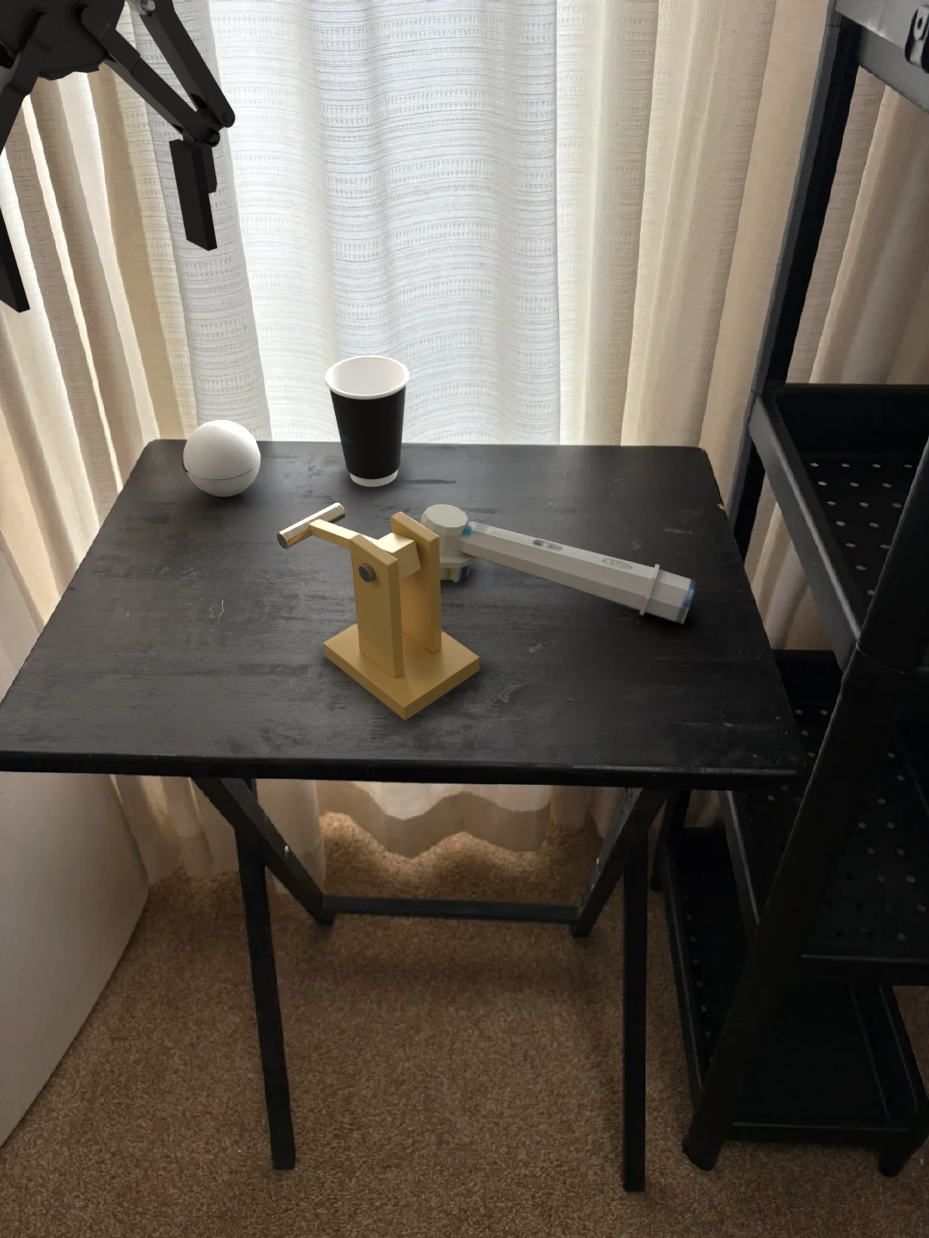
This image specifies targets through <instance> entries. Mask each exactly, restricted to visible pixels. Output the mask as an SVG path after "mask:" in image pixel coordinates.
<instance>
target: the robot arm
mask: <svg viewBox="0 0 929 1238" xmlns="http://www.w3.org/2000/svg"><path fill="white" fill-rule="evenodd" d="M126 3H127V5H128V7H129V9H130V10H131V11H132V12H134V13H136V14H138V16H139V18H140V20H141V22H142V23H143V26H144V27H145V29H146V30H147V32H148V34H149V35H150V37H151V39H152V40H153V41H154V43H155V45H156V47H157V48H158V50H159V51H160V53H161V55H162V56H163V58H164V60H165V61H166V63H167V65H168V66H169V68H170V69H171V70H172V72H173V74H174V76H175V77H176V79H177V80H178V82H179V83H180V85H181V87H182V89H183V90H184V92H185V94H186V96H187V97H188V98H189V100H190V101H191V103H192V104H193V107H194V108H195V109H196V110H194V108H192V106H191V105H190V104H188V102H187V101H186V100H185V99H184V98H182V97H181V96H180V94H179V93H178V92H177V91H176V90H175V89H174V88H173V87H172V86H170V85H169V83H167V81H166V80H165V79H163V78H162V77H161V76H160V75H159V73H157V71H156V70H155V69H154V68H152V67H151V66H150V65H149V64H148V63H147V62H146V60H144V59H143V57H142V54H141V53H140V52H139V51H138V49H137V48H135V47H134V46H133V45H132V44H131V43H130V42H129V41H128V40H127V38H125V36H123V34H121V32H119V31H118V30H117V29H118V26H119V24H120V20H121V17H122V14H123V13H124V12H123V11H124V8H125V4H126ZM103 64H105V66H108V67H109V68H110V69H111V70H112V71H113V72H114V73H115V74H116V75H117V76H118V77H119V78H120V79H121V80H122V81H124V82H125V83H126V84H127V85H128V86H129V87H130V89H132V90H133V91H134V92H135V93H136V94H137V95H139V97H141V98H142V99H143V100H144V101H145V102H146V103H147V105H149V106H150V107H151V108H152V109H153V110H155V112H156V113H157V114H158V115H160V117H161V118H163V119H164V120H165V122H167V123H168V124H169V125H170V127H172V128H173V129H174V130H175V131H176V132H177V133H178V134H180V135H181V136H182V139H180V138H176V139H171V140H169V141H168V147H169V151H170V156H171V162H172V167H173V175H174V180H175V185H176V189H177V196H178V201H179V207H180V212H181V218H182V224H183V228H184V229H183V230H184V234H185V235H184V236H185V240H186V241H188V242H189V243H191V244H193V245H195V246H198V247H199V248H201V249H203V250H205V251H207V252H211V251H214V250H217V249H218V242H217V236H216V231H215V229H216V228H215V225H214V218H213V217H214V216H213V211H212V205H211V199H210V198H211V197H210V194H213V193H216V192H217V189H218V188H217V187H218V178H217V172H216V166H215V165H216V164H215V160H214V152H213V148H216V147H217V146H218V145H219V144H220V141H221V133H220V131H221V130H223V129H224V128H225V129H229V128H232V127H233V126H234V124H235V121H236V113H235V111H234V109H233V107H232V106H231V104H230V102H229V101H228V99H227V97H226V95H225V94H224V92H223V90H222V89H221V87H220V85H219V83H218V82H217V81H216V78H215V77H214V74H212V71H211V70H210V68H209V67H208V65H207V63H206V62H205V60H204V58H203V56H202V55H201V53H200V51H199V49H198V48H197V46H196V44H195V43H194V42H193V40H192V37H191V36H190V34H189V32H188V31H187V28H186V27H185V25H184V24H183V22H182V20H181V19H180V17H179V15H178V13H177V12H176V9H175V4H174V2H173V0H0V157H1V156H2V153H3V151H4V148H5V146H6V143H7V141H8V138H9V137H10V134H11V131H12V129H13V126H14V124H15V122H16V119H17V118H18V114H19V112H20V110H21V107H22V105H23V102H24V101H25V98H26V97H28V96H29V95H31V93H32V92H33V90H34V88H35V85H36V83H37V80H38V78H40V79H44V80H46V81H49V82H52V81H57V80H61V79H62V80H63V79H64V78H66V77H68V76H70V75H71V74H73V73H81V74H82V73H83V74H90V73H95V72H99V71H100V67H101V66H102V65H103ZM16 258H17V257H16V255H15V252H14V248H13V245H12V241H11V239H10V234H9V232H8V228H7V224H6V221H5V218H4V214H3V210H2V208H1V206H0V301H1V302H2V303H4V304H5V305H7V306H8V307H10V308H11V309H12V310H14V312H17V313H18V314H21V313H24V312H27V311H30V310H31V306H30V303H29V300H28V296H27V293H26V289H25V286H24V282H23V278H22V276H21V273H20V269H19V265H18V262H17V259H16Z"/></svg>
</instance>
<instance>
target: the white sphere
mask: <svg viewBox="0 0 929 1238" xmlns="http://www.w3.org/2000/svg"><path fill="white" fill-rule="evenodd" d="M182 455H183V456H182V461H181V467H182V469H183V471H184V472H185V473H186V474H187V476H188V479H189V480H190V481H191V482H192V484H194V485H195V486H196V487H197V488H198V489H199V490H200V491H202V492H205V493H207V494H208V495H209V494H210V495H211V496H214V497H215V496H216V497H223V498H224V497H225V498H226V497H232V496H236V495H238V494H240V493H242V492H244V491H245V490H246V489H248V488H249V487H250V486H252V484H253V483H254V481H255V480H256V479H257V476H258V474H259V471H260V467H261V452H260V449H259V446H258V443H257V440H256V439H255V437H254V436H253V435H252V434H251V433H250V431H249V430H247V428H245V427H244V426H242V425H240V424H238V423H236V422H234V421H232V420H227V419H220V420H219V419H217V420H210V421H208V422H205V423H202V424H201V425H199V426H198V427H197V428H196V429H194V431H193V432H192V433H191V434H190V435H189V436H188V438H187V440H186V443H185V446H184V449H183V453H182Z"/></svg>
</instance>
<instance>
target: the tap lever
mask: <svg viewBox="0 0 929 1238" xmlns="http://www.w3.org/2000/svg"><path fill="white" fill-rule="evenodd" d="M345 519H346V510H345V509H344V506H342V504H341V503H339V502H335V503H333V504H331V505H329V506H328V507H326V508H323V509H321V510H319V511H317V512H316V513H314V514H312V515H310V516H308V517H306V518H304V519H302V520H300V521H297V522H296V523H294V524H292V525H290V526H288V527H286V528H285V529H282V530H280V531H278V532H277V533H276V540H277V542H278V544H279V545H280V547H281V548H282V549H284V550H287V549H289V548H291V547H292V546H295V545H297V544H299V543H300V542H302V541H304V540H306V539H308V538H310V537H312V536H314V537H316V538H318V539H322V540H323V541H326V542H329V543H331V544H334V545H337V546H340V547H342V548H345V549H347V550H350V542H349V539H350V538H352V537H354V536H356V535H357V534H361V535H362V536H364V537H365V538H367V539H368V540H370V541H371V542H372V543H374V544H375V545H377V546H378V547H380V548H381V549H383V550H384V551H386V552H387V553H389V554H390V555H392V556H393V557H394V558H396V559H397V560H398V568H399V581H401V580H403V579H405V578H406V577H408V576H410V575H411V574H413V573H415V572H417V571H418V570H420V569H421V565H420V561H419V556H418V552H417V548H416V543H415V541H414V540H412V539H409V538H406V537H403V536H400V535H397V534H394V533H392V532H390V533H388V534H386V535H384V536H383V537H381V538H379V539H376V538H373V537H370V536H368V535H365V534H363V533H359V532H356V531H354V530H352V529H348V528H345V527H343V526H340V525H337V523H339V522H340V521H342V520H345Z"/></svg>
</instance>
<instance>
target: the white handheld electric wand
mask: <svg viewBox="0 0 929 1238" xmlns="http://www.w3.org/2000/svg"><path fill="white" fill-rule="evenodd" d="M419 524H421V525H422V526H424V527H425V528H427V529H428V530H430V531H432V532H433V533H435V534H436V535H438V536H439V546H440V581H452V582H453V583H457V582H459V581H462V580H464V579H466V578H467V576H468V575H469V573H470V571H471V566H472V565H473V564H474V562H475V561H476V558H477V559H480V560H483V561H487V562H489V563H492V564H496V565H499V566H502V567H505V568H508V569H511V570H513V571H517V572H520V573H523V574H526V575H529V576H533V577H535V578H538V579H541V580H544V581H547V582H551V583H554V584H557V585H559V586H562V587H566V588H569V589H571V590H575V591H578V592H580V593H584V594H586V595H590V596H593V597H596V598H599V599H601V600H606V601H609V602H612V603H615V604H617V605H621V606H624V607H627V608H630V609H633V610H636V611H639V614H638V616H641V617H642V616H644V614H645V613H646V614H649V615H651V616H654V617H657V618H661V619H665V620H666V621H667V620H668V621H670V622H674V623H677V624H679V625H683V624H684V623H685V620H686V617H687V614H688V612H689V610H690V606H691V603H692V600H693V597H694V594H695V590H696V586H697V582H698V581H697V580H694V579H692V578H688V577H685V576H682V575H678V574H675V573H673V572H669V571H666V570H663V569H660V564H657V563H655V566H654V567H653V566H649V565H645V564H641V563H636V562H633V561H629V560H624V559H622V558H617V557H613V556H610V555H605V554H601V553H598V552H594V551H589V550H587V549H582V548H577V547H575V546H570V545H566V544H563V543H558V542H554V541H551V540H547V539H543V538H539V537H535V536H531V535H527V534H523V533H519V532H516V531H511V530H507V529H503V528H499V527H495V526H492V525H488V524H484V523H481V522H480V523H479V522H476V521H472V520H469V518H468V516H467V514H466V512H464V510H462V509H460V508H459V507H457V506H454V505H450V504H445V503H437V504H433V505H429V506H428V507H427V509H426V510H425V511H424V512H423V514H422V515H421V517H420V520H419Z"/></svg>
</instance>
